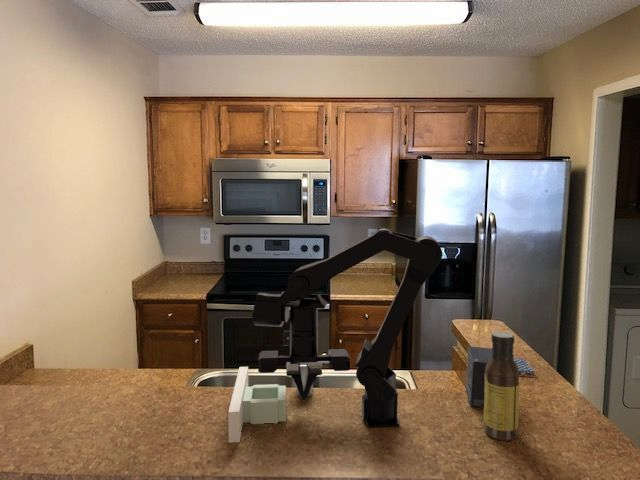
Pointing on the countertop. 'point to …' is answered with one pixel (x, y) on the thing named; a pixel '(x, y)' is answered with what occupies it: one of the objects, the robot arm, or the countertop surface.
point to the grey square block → (303, 374)
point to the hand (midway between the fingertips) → (303, 399)
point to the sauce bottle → (501, 389)
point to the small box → (477, 374)
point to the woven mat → (524, 367)
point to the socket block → (264, 404)
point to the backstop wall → (237, 406)
